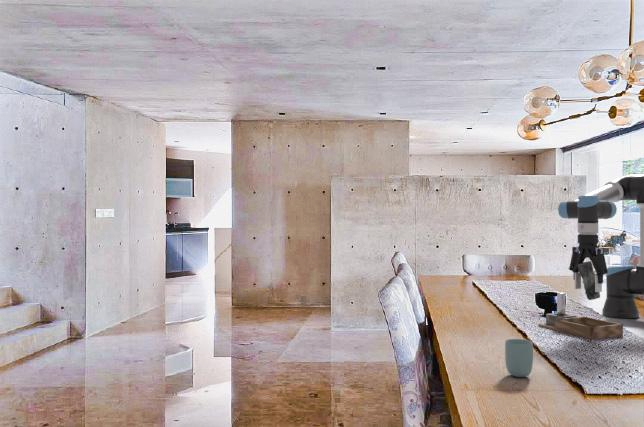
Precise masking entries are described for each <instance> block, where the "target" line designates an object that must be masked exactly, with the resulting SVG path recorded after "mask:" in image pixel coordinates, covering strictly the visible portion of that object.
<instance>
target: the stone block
mask: <svg viewBox="0 0 644 427" xmlns="http://www.w3.org/2000/svg"><path fill="white" fill-rule="evenodd" d="M577 268H578V270H579V272H580V275H581V280H582V283H583V288H584V290H585V292H584V294H585V295H586V299H587V300H588V301H592V300H596V299H600V298H601V294H600V293H601V292H595V275H596V272H595V270H594V266H593V264H592V261H591V260H589V261H584V262H583V263H581V264H578V266H577ZM579 272H578V273H579Z"/></svg>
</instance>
